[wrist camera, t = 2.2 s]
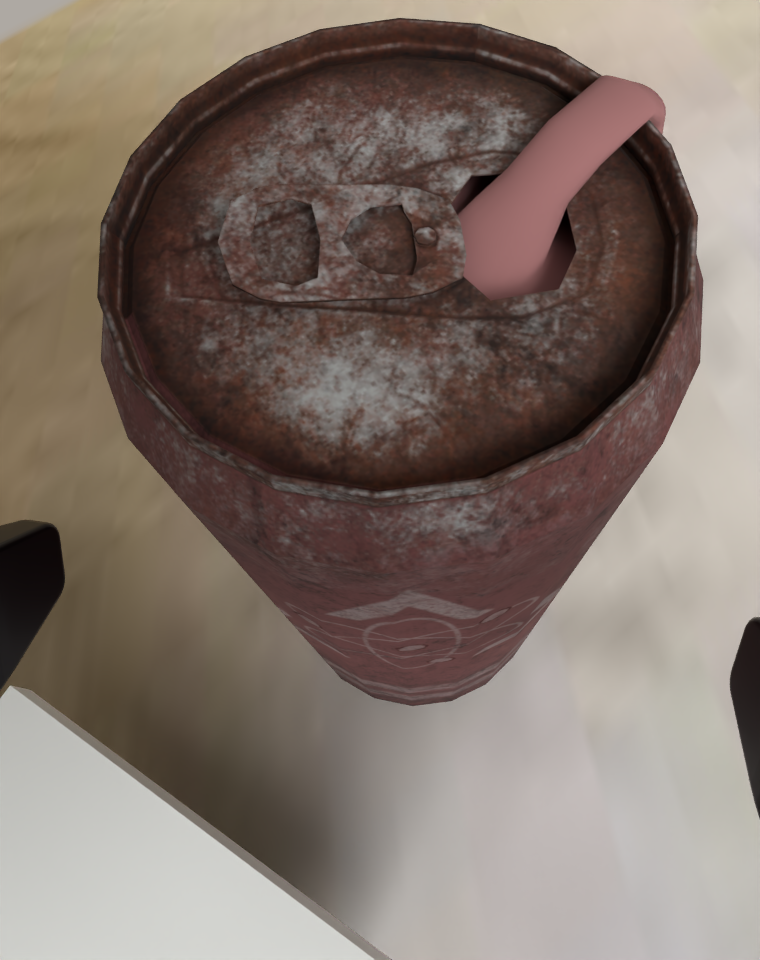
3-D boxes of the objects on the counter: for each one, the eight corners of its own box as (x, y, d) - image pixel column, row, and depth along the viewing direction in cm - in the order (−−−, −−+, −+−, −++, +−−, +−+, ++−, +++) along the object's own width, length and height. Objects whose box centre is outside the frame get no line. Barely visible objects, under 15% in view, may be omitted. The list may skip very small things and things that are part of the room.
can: (584, 589, 19) (917, 191, 6) (408, 759, 18) (352, 713, 5) (428, 439, 21) (428, -101, 8) (259, 582, 20) (-65, 209, 7)
